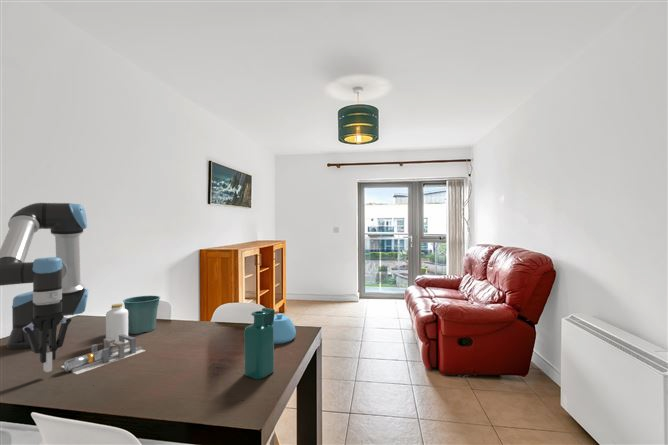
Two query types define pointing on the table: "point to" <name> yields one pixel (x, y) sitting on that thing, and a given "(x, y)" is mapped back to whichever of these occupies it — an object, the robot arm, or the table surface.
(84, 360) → the tube
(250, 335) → the teal bottle
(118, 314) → the potion bottle
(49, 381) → the table surface
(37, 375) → the table surface
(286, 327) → the sugar bowl
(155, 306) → the flower pot
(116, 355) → the collar board
